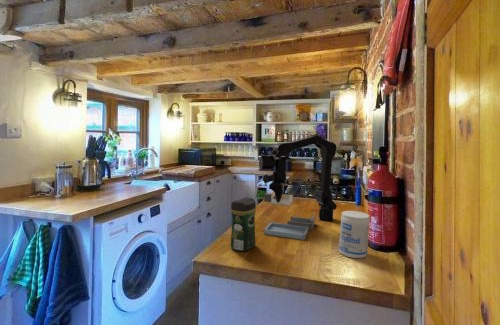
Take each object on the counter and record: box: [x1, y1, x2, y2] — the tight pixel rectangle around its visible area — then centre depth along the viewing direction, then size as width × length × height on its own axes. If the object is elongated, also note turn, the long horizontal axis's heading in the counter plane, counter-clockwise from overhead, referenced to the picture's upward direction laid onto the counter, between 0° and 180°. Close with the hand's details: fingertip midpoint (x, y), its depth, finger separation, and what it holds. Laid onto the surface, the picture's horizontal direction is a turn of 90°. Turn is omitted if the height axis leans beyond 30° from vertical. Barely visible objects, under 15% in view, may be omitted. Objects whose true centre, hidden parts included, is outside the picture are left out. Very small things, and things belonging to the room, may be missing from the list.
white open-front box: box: [263, 192, 293, 207], centre depth 132 cm, size 13×6×4 cm, turn 70°
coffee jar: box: [230, 196, 257, 252], centre depth 101 cm, size 10×8×19 cm
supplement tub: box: [338, 210, 371, 259], centre depth 98 cm, size 10×10×15 cm
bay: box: [286, 215, 315, 231], centre depth 129 cm, size 12×9×4 cm
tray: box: [263, 222, 309, 241], centre depth 119 cm, size 17×11×2 cm, turn 70°
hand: (279, 201), depth 132 cm, fingers closed on white open-front box, 6 cm apart
